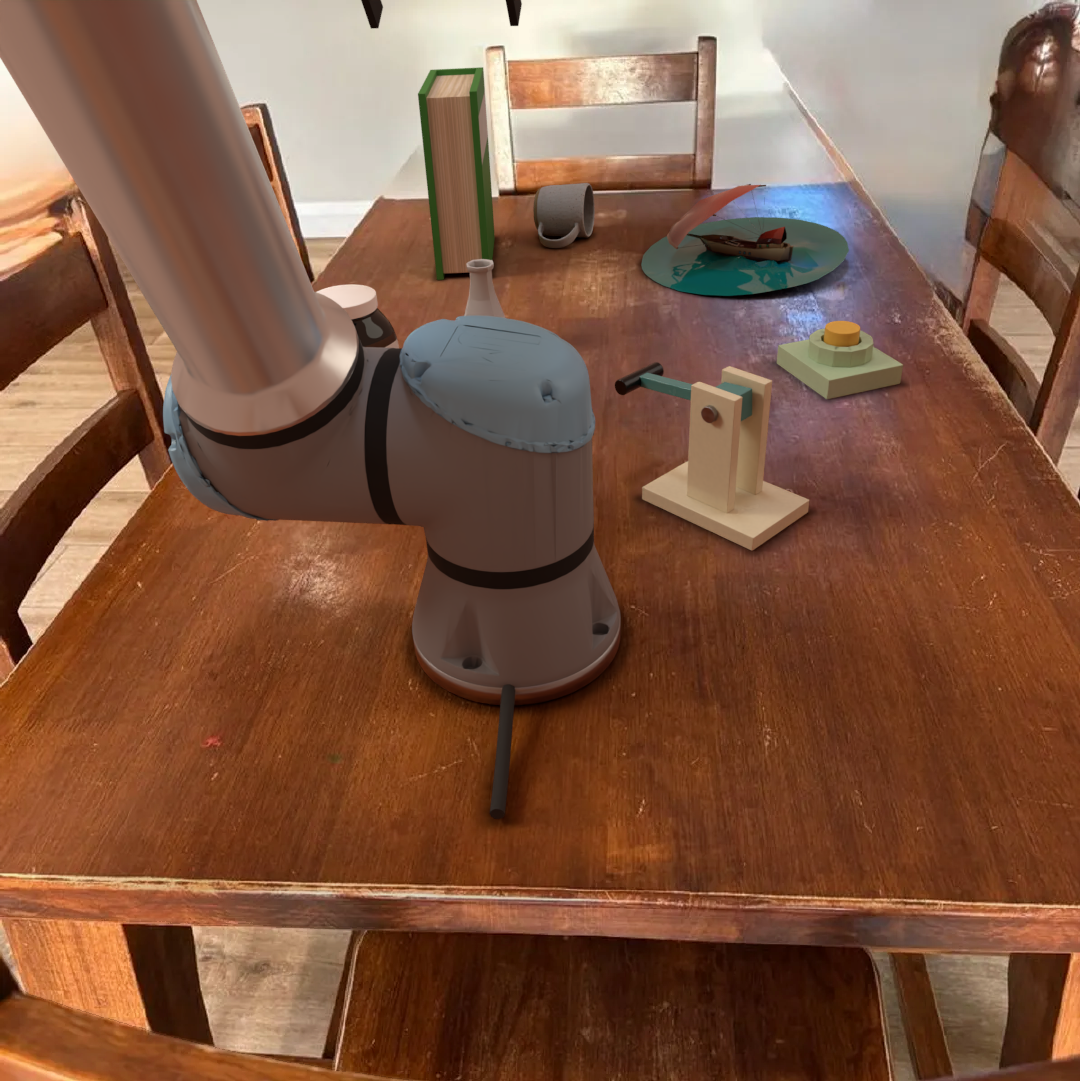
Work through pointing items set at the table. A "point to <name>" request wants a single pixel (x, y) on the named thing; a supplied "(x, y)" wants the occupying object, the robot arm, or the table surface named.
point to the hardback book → (457, 167)
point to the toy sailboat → (741, 251)
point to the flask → (482, 290)
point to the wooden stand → (728, 468)
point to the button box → (839, 365)
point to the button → (842, 334)
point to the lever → (676, 386)
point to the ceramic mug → (564, 213)
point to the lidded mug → (364, 314)
